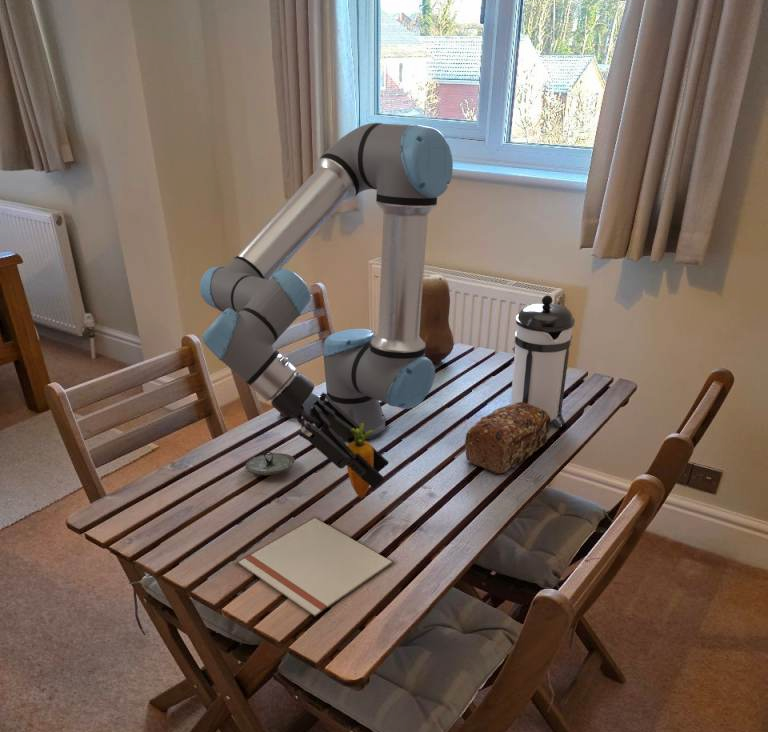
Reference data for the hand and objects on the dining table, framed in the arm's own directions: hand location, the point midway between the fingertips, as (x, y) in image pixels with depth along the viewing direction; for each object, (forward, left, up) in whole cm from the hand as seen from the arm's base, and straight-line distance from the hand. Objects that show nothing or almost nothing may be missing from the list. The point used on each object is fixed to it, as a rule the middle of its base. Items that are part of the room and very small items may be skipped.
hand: (380, 474), depth 124 cm
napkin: (-1, -16, -11) cm, 20 cm away
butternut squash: (-45, +67, -11) cm, 81 cm away
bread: (+2, +38, -11) cm, 40 cm away
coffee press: (-4, +57, -11) cm, 58 cm away
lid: (-32, -1, -11) cm, 34 cm away
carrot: (-3, -2, -5) cm, 7 cm away
